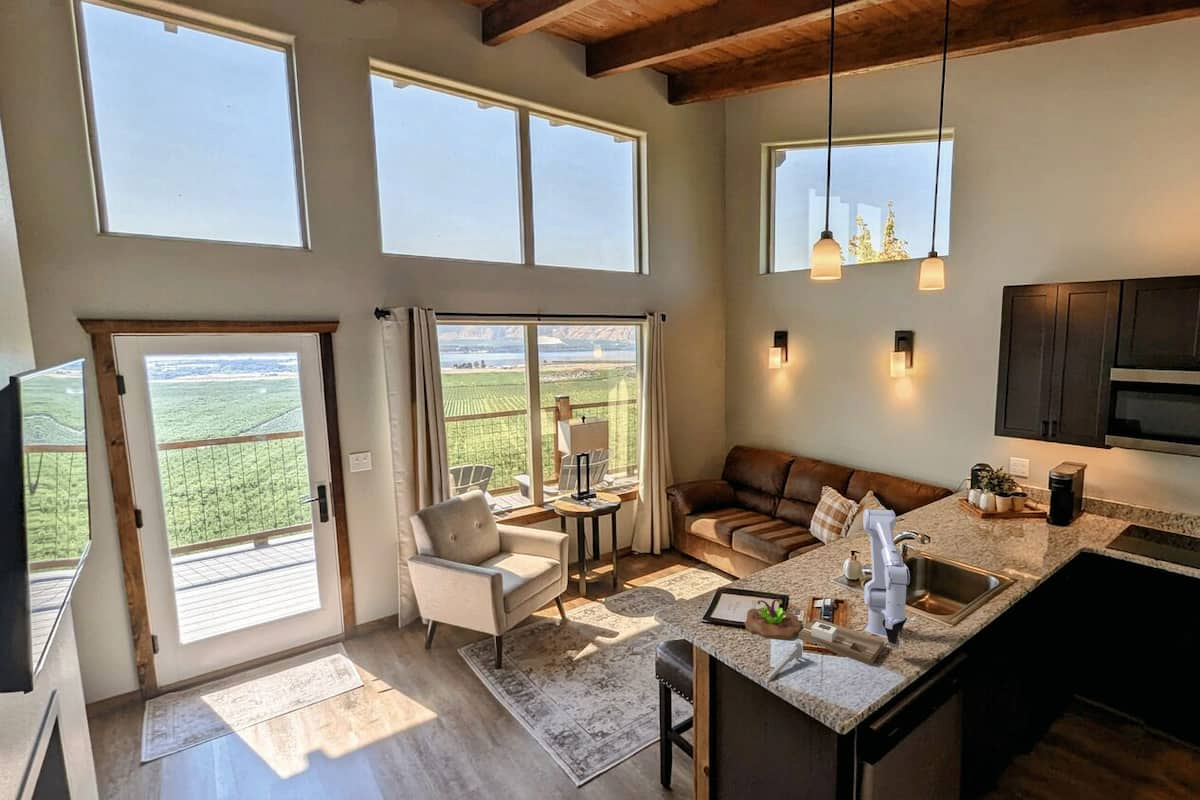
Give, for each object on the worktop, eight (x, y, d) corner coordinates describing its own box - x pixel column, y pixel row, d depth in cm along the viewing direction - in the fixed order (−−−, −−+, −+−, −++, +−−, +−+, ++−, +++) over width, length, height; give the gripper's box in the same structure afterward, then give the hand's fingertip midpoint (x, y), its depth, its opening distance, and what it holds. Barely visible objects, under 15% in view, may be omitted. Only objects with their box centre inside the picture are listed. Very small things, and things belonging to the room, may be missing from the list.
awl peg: (889, 641, 190) (890, 624, 189) (900, 644, 188) (901, 627, 187) (887, 645, 187) (887, 628, 187) (897, 648, 185) (898, 631, 185)
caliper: (799, 657, 189) (799, 639, 188) (802, 658, 188) (802, 640, 187) (764, 682, 175) (764, 663, 175) (767, 683, 175) (767, 664, 174)
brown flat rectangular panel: (814, 623, 210) (814, 617, 210) (884, 647, 194) (884, 640, 193) (798, 639, 200) (798, 632, 199) (870, 665, 183) (870, 658, 183)
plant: (799, 646, 196) (800, 616, 195) (741, 636, 204) (742, 606, 202) (802, 618, 215) (802, 590, 213) (749, 610, 222) (749, 583, 221)
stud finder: (816, 629, 201) (816, 620, 201) (836, 636, 197) (836, 626, 196) (811, 635, 198) (811, 626, 197) (831, 642, 193) (832, 632, 193)
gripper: (888, 589, 194) (887, 627, 195) (875, 606, 183) (874, 645, 185) (911, 596, 189) (909, 634, 191) (899, 613, 178) (897, 653, 180)
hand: (893, 640), depth 187 cm, fingers closed on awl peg, 3 cm apart
